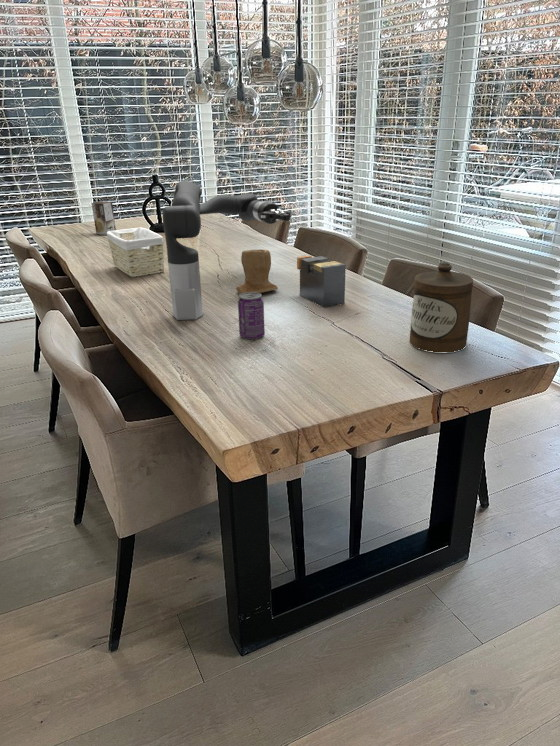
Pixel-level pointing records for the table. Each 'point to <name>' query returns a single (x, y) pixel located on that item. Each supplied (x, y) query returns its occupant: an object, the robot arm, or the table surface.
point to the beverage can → (251, 315)
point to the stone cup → (256, 272)
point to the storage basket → (137, 251)
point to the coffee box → (103, 217)
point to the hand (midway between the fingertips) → (287, 218)
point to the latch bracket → (323, 281)
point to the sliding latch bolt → (300, 262)
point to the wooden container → (441, 310)
